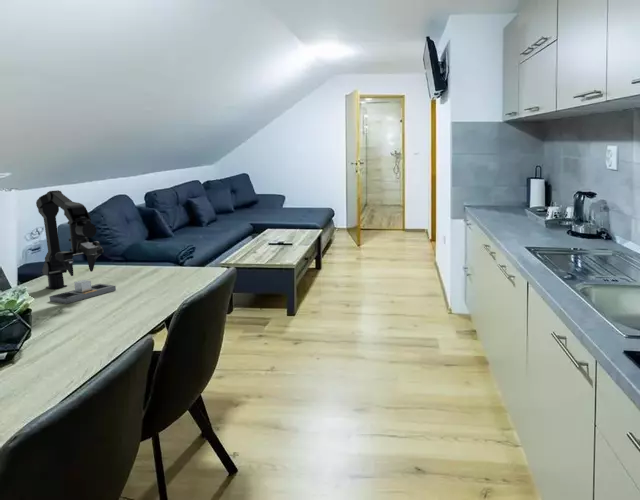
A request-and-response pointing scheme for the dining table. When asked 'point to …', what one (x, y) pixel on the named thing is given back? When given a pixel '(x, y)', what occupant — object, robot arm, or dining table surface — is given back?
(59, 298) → the grey slotted frame
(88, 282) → the steel block
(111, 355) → the dining table surface
